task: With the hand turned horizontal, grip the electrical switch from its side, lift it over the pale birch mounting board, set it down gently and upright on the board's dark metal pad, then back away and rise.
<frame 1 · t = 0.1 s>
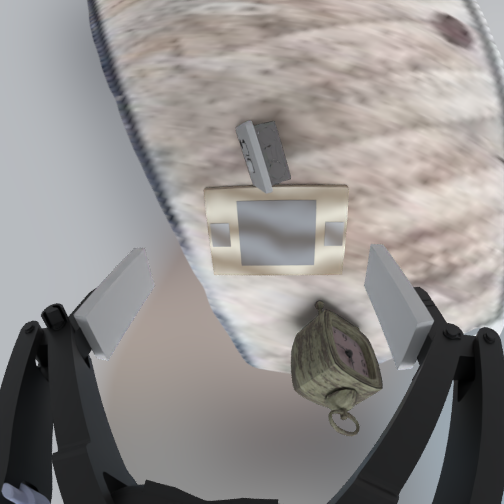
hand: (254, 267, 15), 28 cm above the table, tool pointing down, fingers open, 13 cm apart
tabletop clock: (327, 323, 52), on the table
mounting board: (277, 230, 44), on the table
electrical switch: (261, 149, 39), on the table
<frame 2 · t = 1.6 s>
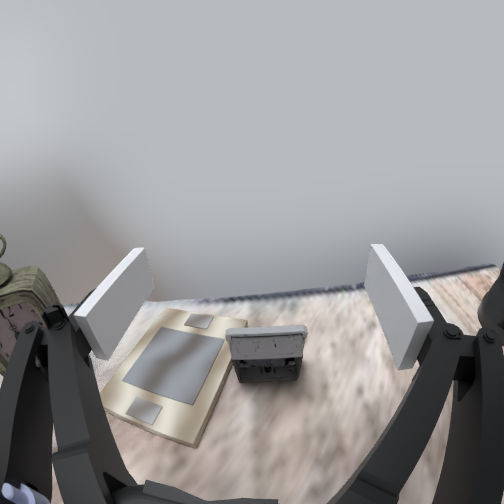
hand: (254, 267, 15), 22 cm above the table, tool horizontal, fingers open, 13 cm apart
tabletop clock: (54, 374, 32), on the table
mounting board: (176, 368, 35), on the table
electrical switch: (269, 376, 34), on the table
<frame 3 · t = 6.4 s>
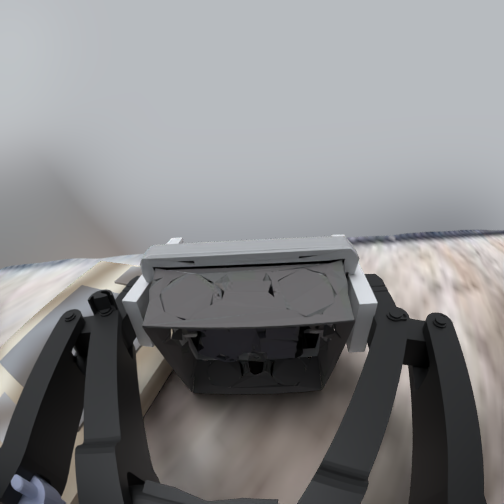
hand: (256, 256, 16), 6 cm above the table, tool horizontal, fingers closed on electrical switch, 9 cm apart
mounting board: (85, 353, 17), on the table
electrical switch: (260, 382, 15), on the table, touching gripper
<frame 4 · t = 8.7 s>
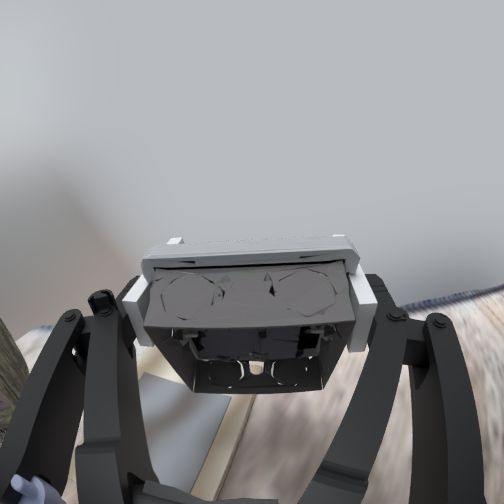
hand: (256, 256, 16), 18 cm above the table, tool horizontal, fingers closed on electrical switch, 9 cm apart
tabletop clock: (18, 419, 19), on the table
mounting board: (165, 433, 22), on the table
electrical switch: (261, 382, 15), point 12 cm above the table, touching gripper
when the fingers open (8 cm above the table, at t = 11.5 s): electrical switch moves 2 cm, point 2 cm above the table.
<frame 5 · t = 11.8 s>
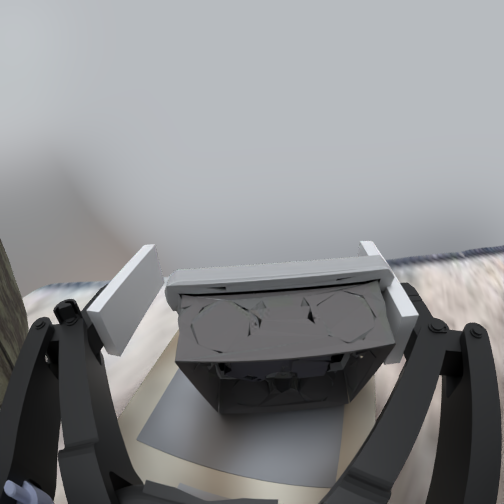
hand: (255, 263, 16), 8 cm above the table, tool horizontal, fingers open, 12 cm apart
tabletop clock: (7, 402, 13), on the table
mounting board: (257, 401, 16), on the table
electrical switch: (287, 398, 14), point 2 cm above the table, touching gripper
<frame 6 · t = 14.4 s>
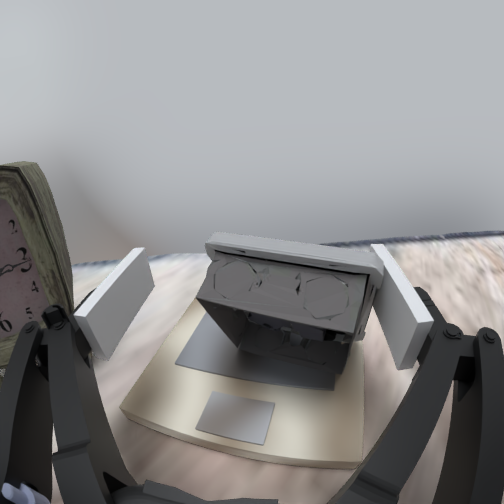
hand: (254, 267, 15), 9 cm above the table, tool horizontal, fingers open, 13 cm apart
tabletop clock: (43, 359, 19), on the table
mounting board: (269, 335, 22), on the table
electrical switch: (296, 353, 18), point 2 cm above the table, touching mounting board
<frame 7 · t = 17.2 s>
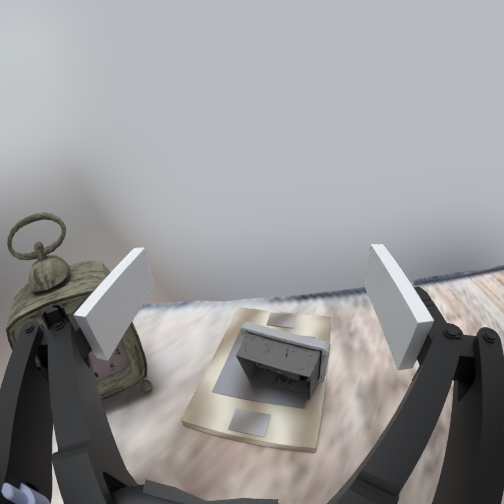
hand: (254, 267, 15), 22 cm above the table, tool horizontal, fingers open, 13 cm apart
tabletop clock: (110, 389, 30), on the table
mounting board: (268, 371, 33), on the table
electrical switch: (284, 386, 29), point 1 cm above the table, touching mounting board
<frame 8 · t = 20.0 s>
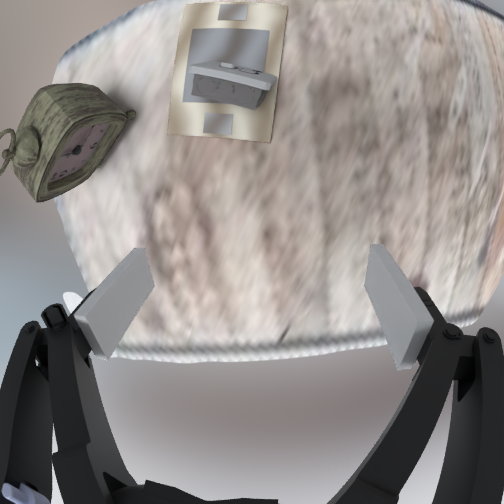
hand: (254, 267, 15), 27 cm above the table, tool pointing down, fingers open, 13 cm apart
tabletop clock: (106, 129, 37), on the table
mounting board: (227, 66, 32), on the table
electrical switch: (241, 85, 32), point 1 cm above the table, touching mounting board
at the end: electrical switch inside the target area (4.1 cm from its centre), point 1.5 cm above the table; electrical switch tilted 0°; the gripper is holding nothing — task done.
